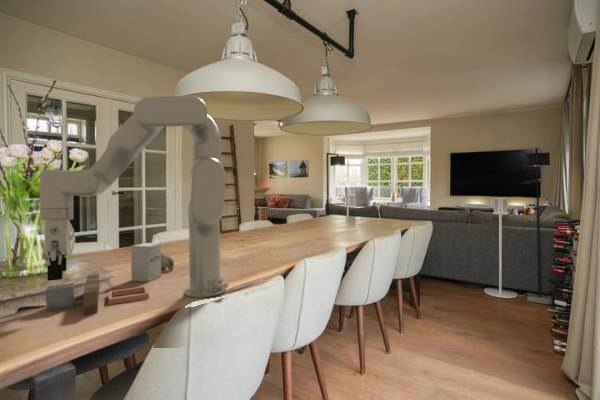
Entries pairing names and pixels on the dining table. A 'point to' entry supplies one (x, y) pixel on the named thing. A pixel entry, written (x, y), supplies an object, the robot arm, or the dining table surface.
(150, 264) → the supplement box
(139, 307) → the dining table surface
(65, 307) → the bar
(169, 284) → the dining table surface
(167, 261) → the decorative bird
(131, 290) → the key collar
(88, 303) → the board
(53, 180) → the robot arm
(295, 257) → the dining table surface
